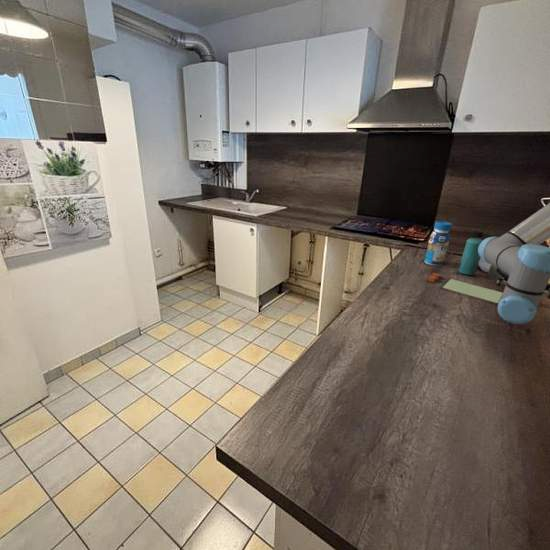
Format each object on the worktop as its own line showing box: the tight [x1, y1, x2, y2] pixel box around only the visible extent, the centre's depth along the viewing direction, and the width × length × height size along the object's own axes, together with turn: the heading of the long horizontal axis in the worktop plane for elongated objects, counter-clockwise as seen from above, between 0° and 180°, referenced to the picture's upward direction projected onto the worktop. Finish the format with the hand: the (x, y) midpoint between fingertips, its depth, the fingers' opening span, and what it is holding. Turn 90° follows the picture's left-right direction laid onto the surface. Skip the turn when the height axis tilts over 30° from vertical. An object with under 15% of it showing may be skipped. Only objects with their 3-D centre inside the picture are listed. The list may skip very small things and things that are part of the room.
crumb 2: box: [431, 272, 441, 280], centre depth 122 cm, size 2×2×2 cm
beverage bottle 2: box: [458, 230, 484, 276], centre depth 124 cm, size 6×7×20 cm
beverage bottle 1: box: [423, 221, 452, 267], centre depth 138 cm, size 8×8×20 cm
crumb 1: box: [427, 274, 437, 283], centre depth 120 cm, size 2×2×2 cm
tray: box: [442, 278, 503, 304], centre depth 112 cm, size 18×12×1 cm, turn 47°
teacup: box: [478, 257, 497, 273], centre depth 131 cm, size 14×11×8 cm
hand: (529, 273), depth 97 cm, fingers open, 13 cm apart
